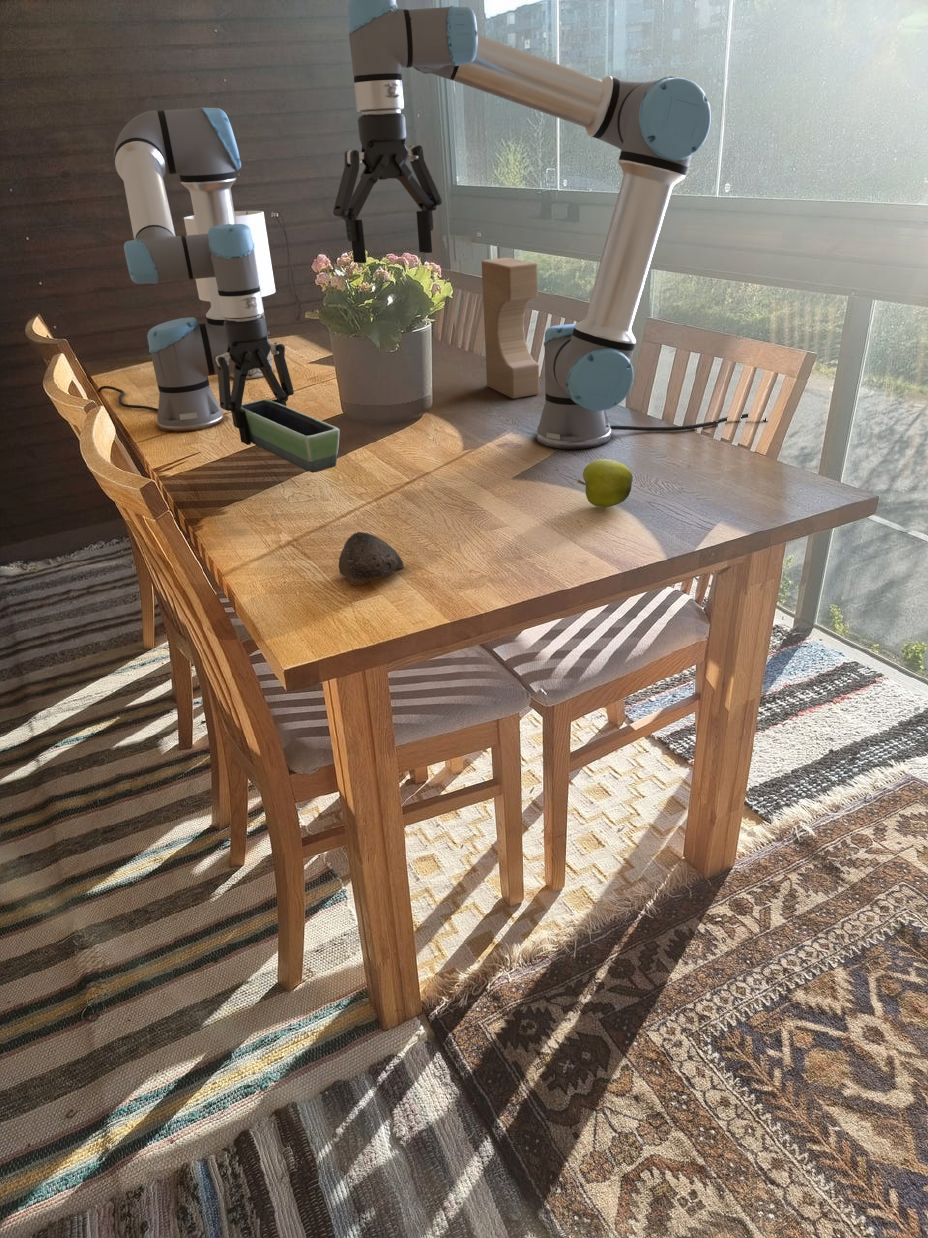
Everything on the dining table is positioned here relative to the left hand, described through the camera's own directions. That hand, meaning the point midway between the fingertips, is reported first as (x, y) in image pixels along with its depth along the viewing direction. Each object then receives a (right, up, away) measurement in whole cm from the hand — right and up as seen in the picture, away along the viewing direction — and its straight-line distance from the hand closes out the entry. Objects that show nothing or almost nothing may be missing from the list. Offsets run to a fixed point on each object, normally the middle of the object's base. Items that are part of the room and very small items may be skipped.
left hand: (264, 437), depth 173 cm
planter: (+7, -4, -7) cm, 10 cm away
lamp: (-22, +34, +79) cm, 89 cm away
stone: (+25, -29, -41) cm, 57 cm away
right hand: (+27, +26, -23) cm, 44 cm away
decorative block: (+51, +21, +47) cm, 73 cm away
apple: (+63, -16, -22) cm, 69 cm away
